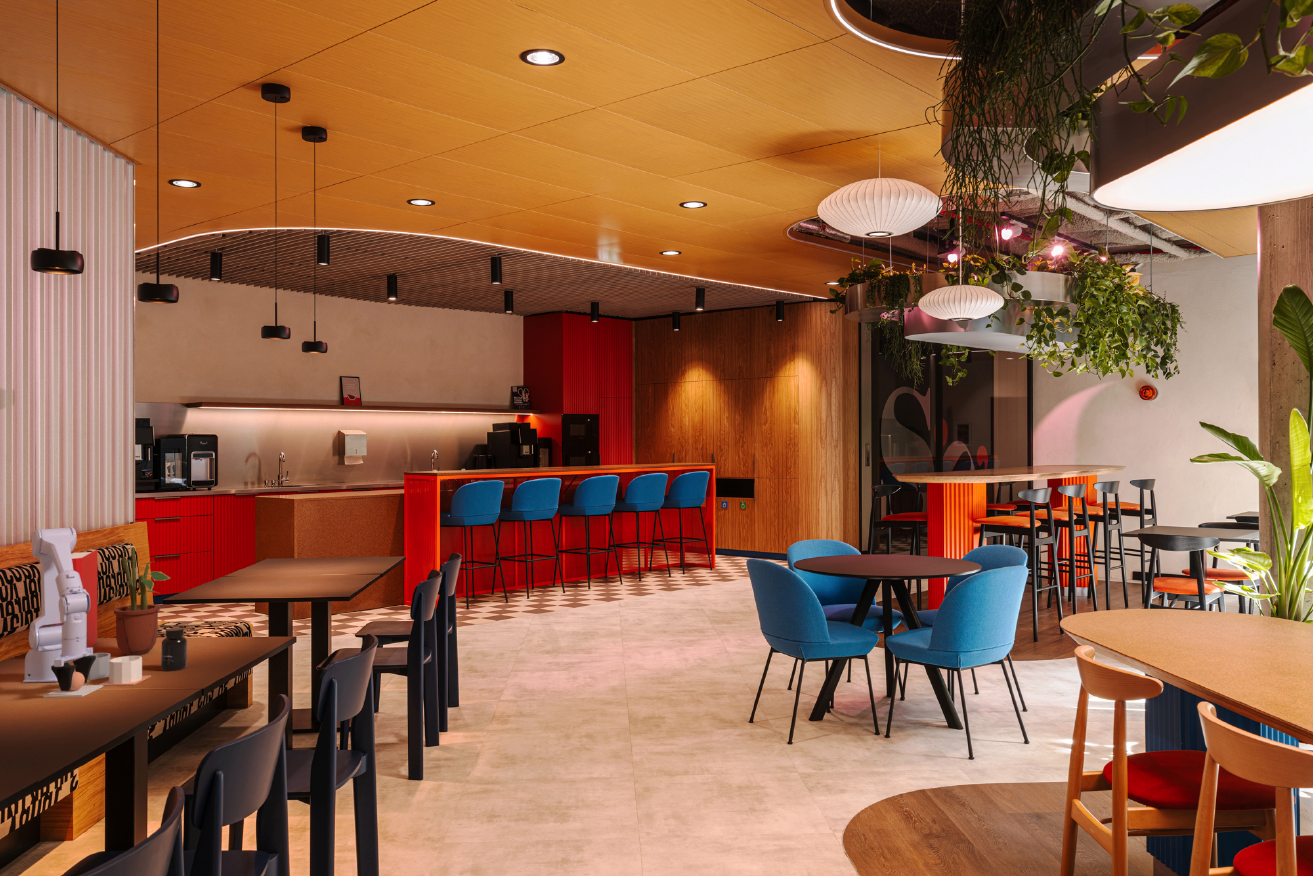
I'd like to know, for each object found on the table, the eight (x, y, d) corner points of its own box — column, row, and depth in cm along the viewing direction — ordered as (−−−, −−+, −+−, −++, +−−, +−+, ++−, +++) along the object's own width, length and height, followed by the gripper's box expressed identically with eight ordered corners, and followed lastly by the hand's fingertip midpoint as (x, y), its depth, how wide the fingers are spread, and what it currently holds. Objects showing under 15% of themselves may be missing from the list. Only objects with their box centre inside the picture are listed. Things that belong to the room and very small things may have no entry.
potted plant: (144, 658, 280) (145, 548, 281) (96, 658, 281) (97, 548, 281) (175, 646, 298) (175, 542, 298) (130, 646, 298) (130, 543, 299)
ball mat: (43, 697, 236) (43, 695, 236) (65, 687, 246) (65, 685, 246) (82, 696, 236) (82, 694, 236) (102, 686, 246) (103, 685, 246)
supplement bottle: (160, 672, 262) (160, 632, 262) (161, 667, 268) (161, 628, 268) (186, 669, 265) (186, 630, 266) (187, 664, 271) (187, 626, 272)
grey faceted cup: (71, 680, 253) (72, 659, 253) (87, 673, 261) (88, 653, 261) (100, 679, 254) (100, 659, 254) (115, 672, 262) (115, 652, 262)
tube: (99, 685, 247) (99, 663, 247) (117, 677, 257) (117, 655, 257) (133, 685, 248) (134, 662, 248) (151, 676, 257) (151, 655, 258)
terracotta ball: (58, 693, 238) (58, 674, 238) (69, 688, 243) (69, 669, 243) (77, 692, 239) (78, 674, 239) (88, 687, 244) (88, 669, 244)
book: (69, 643, 303) (70, 550, 303) (96, 641, 306) (97, 549, 306) (50, 660, 278) (51, 559, 278) (80, 658, 281) (81, 558, 281)
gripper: (73, 642, 234) (73, 693, 234) (104, 631, 249) (103, 679, 248) (46, 643, 234) (45, 694, 233) (78, 632, 248) (77, 680, 248)
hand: (73, 686), depth 241 cm, fingers open, 7 cm apart
